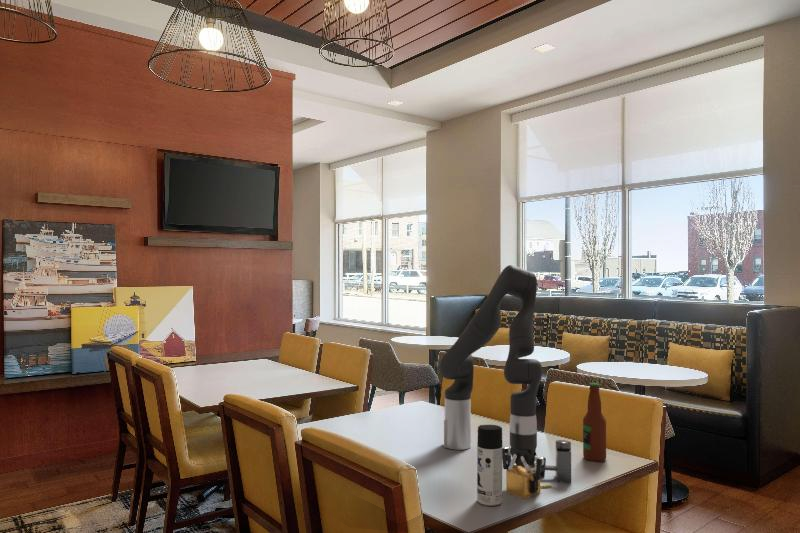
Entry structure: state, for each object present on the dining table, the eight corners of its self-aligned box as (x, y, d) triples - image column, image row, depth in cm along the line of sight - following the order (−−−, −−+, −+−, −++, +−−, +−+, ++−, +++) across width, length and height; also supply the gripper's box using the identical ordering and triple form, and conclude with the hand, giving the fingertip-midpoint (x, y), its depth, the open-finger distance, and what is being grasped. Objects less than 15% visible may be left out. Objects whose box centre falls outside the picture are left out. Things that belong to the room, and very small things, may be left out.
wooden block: (524, 498, 157) (524, 476, 157) (506, 492, 162) (506, 470, 162) (540, 492, 162) (540, 471, 162) (522, 486, 167) (522, 465, 167)
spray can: (474, 497, 158) (474, 424, 158) (499, 496, 158) (498, 423, 159) (480, 507, 151) (480, 430, 152) (505, 506, 152) (505, 430, 152)
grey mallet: (529, 480, 171) (529, 442, 172) (528, 473, 177) (528, 437, 178) (572, 482, 169) (571, 445, 169) (569, 476, 175) (569, 439, 175)
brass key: (533, 489, 164) (533, 487, 164) (530, 486, 166) (530, 484, 166) (552, 488, 165) (552, 486, 165) (549, 485, 167) (549, 483, 167)
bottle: (589, 454, 197) (589, 380, 198) (610, 458, 192) (609, 383, 192) (579, 458, 192) (578, 383, 192) (599, 463, 187) (599, 386, 187)
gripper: (552, 433, 159) (552, 494, 159) (511, 422, 170) (511, 479, 170) (535, 437, 154) (535, 500, 154) (494, 426, 166) (494, 485, 165)
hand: (523, 489), depth 162 cm, fingers closed on wooden block, 6 cm apart
